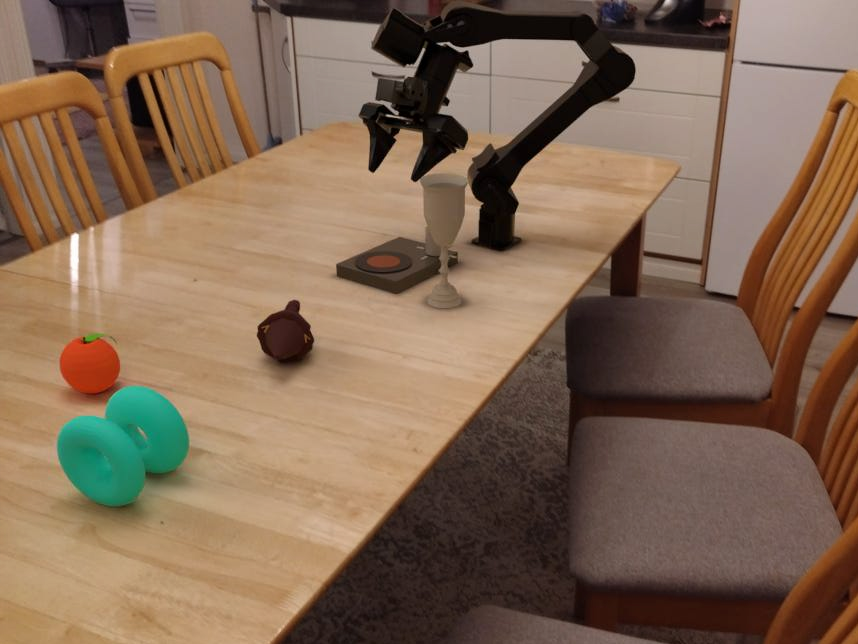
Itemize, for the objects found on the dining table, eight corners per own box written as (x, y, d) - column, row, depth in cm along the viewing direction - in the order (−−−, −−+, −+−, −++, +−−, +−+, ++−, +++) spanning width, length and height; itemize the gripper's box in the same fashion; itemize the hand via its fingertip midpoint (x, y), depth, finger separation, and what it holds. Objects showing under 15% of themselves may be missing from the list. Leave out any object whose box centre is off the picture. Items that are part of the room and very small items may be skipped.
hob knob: (434, 246, 163) (434, 221, 160) (452, 251, 161) (452, 225, 159) (420, 253, 160) (420, 227, 158) (438, 258, 158) (438, 231, 156)
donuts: (61, 498, 104) (40, 414, 98) (127, 453, 111) (110, 372, 106) (139, 522, 100) (121, 436, 95) (200, 474, 108) (187, 392, 103)
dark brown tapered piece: (312, 338, 122) (325, 300, 136) (252, 323, 121) (270, 287, 134) (302, 389, 126) (315, 347, 139) (243, 375, 124) (261, 334, 138)
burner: (379, 248, 162) (379, 247, 162) (423, 260, 158) (423, 259, 157) (342, 264, 156) (342, 263, 155) (387, 277, 151) (387, 276, 151)
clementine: (104, 369, 128) (93, 318, 124) (143, 382, 125) (133, 330, 122) (53, 394, 123) (40, 341, 119) (93, 408, 120) (81, 354, 116)
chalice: (461, 313, 145) (462, 189, 136) (416, 308, 147) (413, 186, 137) (471, 294, 152) (473, 175, 142) (428, 290, 153) (426, 171, 143)
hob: (405, 245, 169) (404, 233, 168) (470, 263, 163) (470, 250, 161) (336, 276, 157) (335, 262, 156) (403, 296, 150) (403, 282, 149)
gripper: (357, 47, 153) (317, 142, 153) (447, 58, 142) (404, 160, 142) (399, 87, 162) (362, 176, 162) (487, 100, 151) (447, 195, 152)
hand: (391, 176), depth 154 cm, fingers open, 9 cm apart
